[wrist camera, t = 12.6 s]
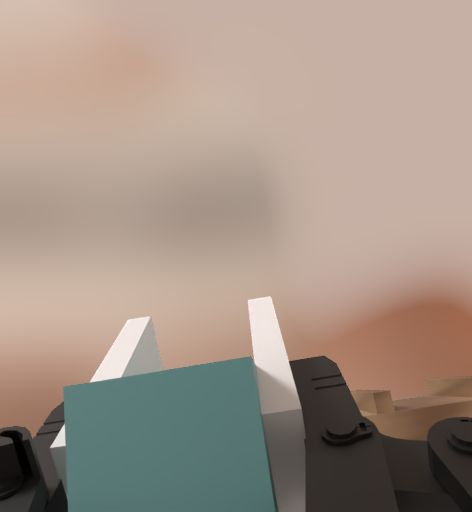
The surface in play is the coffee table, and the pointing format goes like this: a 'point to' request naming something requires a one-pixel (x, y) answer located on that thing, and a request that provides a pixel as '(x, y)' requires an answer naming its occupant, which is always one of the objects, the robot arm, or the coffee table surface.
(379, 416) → the stand
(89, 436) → the block
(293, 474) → the robot arm
